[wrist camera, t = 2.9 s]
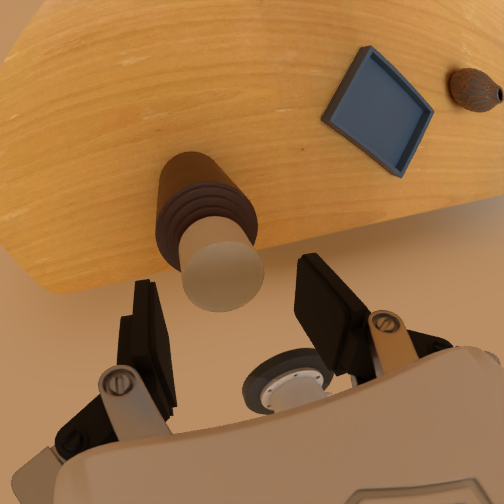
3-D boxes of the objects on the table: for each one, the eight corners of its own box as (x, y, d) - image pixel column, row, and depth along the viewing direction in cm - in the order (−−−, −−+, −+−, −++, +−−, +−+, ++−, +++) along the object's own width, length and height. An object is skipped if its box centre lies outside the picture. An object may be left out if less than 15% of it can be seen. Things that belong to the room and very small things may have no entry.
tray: (424, 109, 32) (434, 111, 30) (392, 174, 35) (401, 178, 34) (361, 46, 26) (371, 45, 25) (320, 120, 30) (329, 121, 28)
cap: (259, 231, 16) (279, 258, 14) (229, 286, 18) (242, 320, 15) (196, 205, 15) (203, 229, 12) (168, 266, 16) (170, 300, 13)
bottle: (232, 166, 30) (310, 239, 14) (205, 220, 31) (249, 337, 16) (175, 141, 27) (187, 186, 11) (149, 199, 29) (136, 309, 13)
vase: (461, 116, 34) (504, 127, 26) (439, 91, 31) (486, 99, 24) (470, 84, 32) (512, 91, 24) (449, 58, 29) (495, 61, 21)
